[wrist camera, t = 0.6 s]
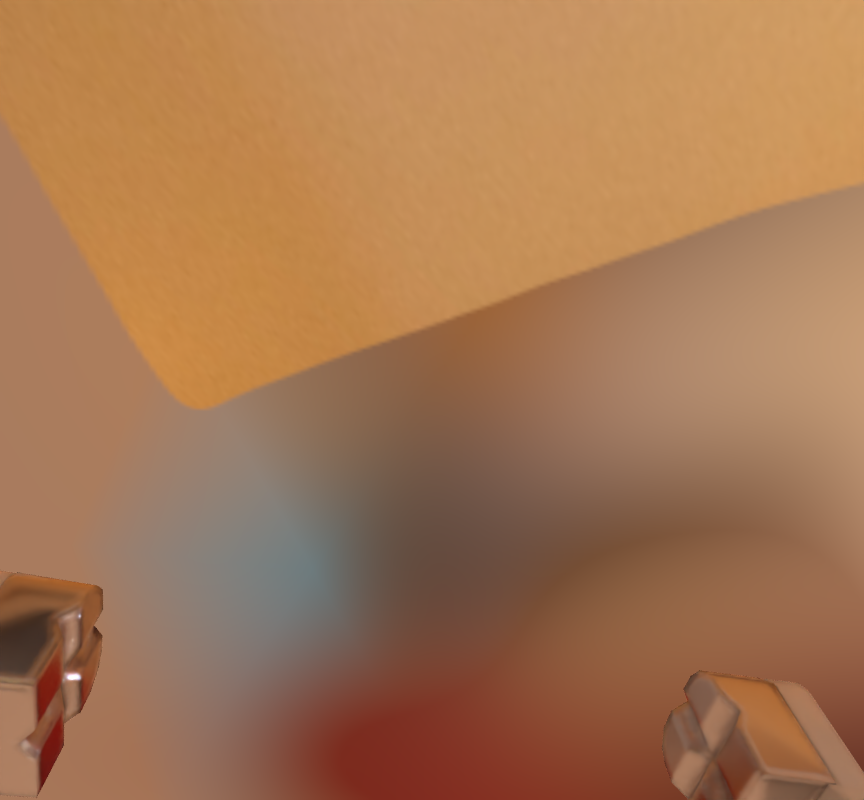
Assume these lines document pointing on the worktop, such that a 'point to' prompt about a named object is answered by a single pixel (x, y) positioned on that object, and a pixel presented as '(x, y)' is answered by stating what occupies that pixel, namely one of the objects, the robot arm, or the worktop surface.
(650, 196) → the worktop surface
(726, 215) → the worktop surface
